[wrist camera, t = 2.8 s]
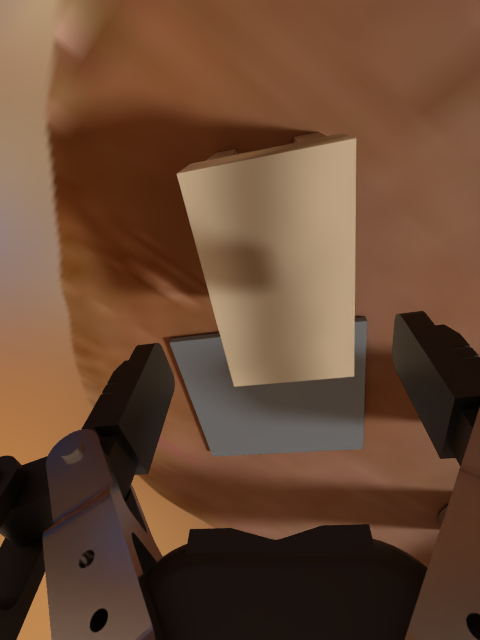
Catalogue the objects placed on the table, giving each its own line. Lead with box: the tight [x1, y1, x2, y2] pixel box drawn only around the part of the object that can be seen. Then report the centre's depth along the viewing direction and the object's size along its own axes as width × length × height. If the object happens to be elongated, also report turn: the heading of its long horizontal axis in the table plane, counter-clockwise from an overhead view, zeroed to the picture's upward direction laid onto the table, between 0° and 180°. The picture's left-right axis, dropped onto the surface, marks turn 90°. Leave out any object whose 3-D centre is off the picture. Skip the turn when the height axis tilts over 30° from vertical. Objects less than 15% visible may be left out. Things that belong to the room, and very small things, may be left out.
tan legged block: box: [177, 132, 356, 387], centre depth 18 cm, size 6×11×9 cm, turn 11°
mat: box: [170, 317, 367, 456], centre depth 30 cm, size 16×16×1 cm
